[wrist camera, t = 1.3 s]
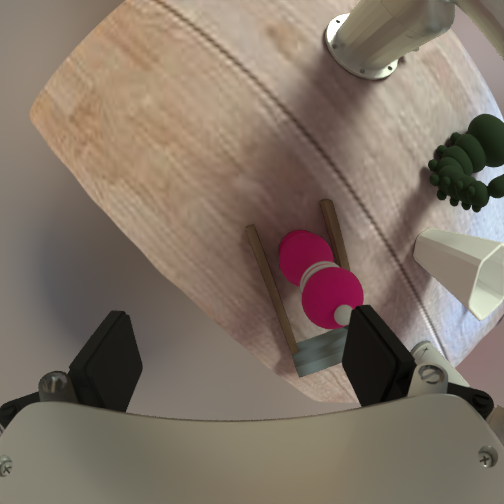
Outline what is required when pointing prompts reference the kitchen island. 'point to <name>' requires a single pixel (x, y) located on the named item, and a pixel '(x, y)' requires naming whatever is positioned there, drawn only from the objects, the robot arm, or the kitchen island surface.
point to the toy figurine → (470, 164)
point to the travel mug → (436, 361)
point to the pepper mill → (319, 279)
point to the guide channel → (304, 353)
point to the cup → (464, 267)
